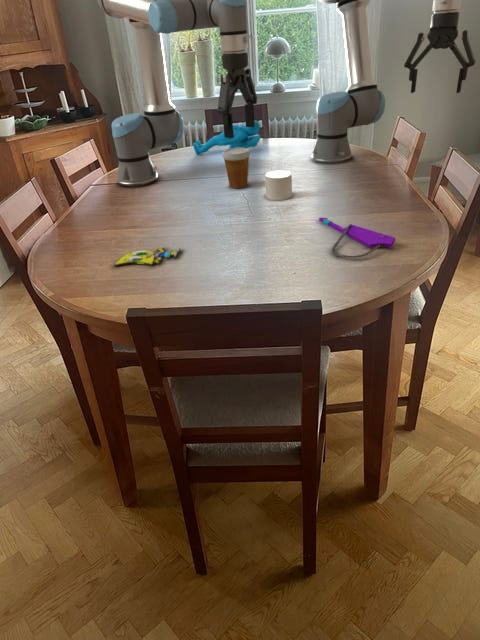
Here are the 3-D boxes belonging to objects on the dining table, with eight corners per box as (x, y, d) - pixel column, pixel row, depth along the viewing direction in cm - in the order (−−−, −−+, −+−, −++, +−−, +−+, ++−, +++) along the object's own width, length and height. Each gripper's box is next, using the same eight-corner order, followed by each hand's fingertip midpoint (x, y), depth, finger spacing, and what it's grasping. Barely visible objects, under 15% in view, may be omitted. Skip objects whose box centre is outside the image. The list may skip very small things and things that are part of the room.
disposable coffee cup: (220, 189, 168) (217, 154, 161) (231, 180, 175) (228, 146, 168) (246, 190, 164) (243, 154, 158) (255, 181, 171) (253, 147, 165)
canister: (286, 201, 153) (285, 178, 149) (262, 199, 156) (260, 177, 152) (295, 192, 159) (295, 171, 155) (272, 190, 162) (271, 169, 159)
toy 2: (171, 262, 119) (113, 263, 121) (171, 266, 119) (114, 266, 121) (180, 245, 127) (126, 246, 129) (180, 248, 128) (127, 249, 130)
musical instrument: (379, 268, 112) (405, 226, 124) (378, 260, 110) (405, 219, 123) (287, 256, 124) (320, 220, 137) (286, 249, 123) (319, 213, 135)
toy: (198, 134, 217) (260, 114, 207) (206, 157, 223) (267, 139, 212) (187, 143, 204) (253, 123, 194) (196, 168, 209) (261, 149, 199)
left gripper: (224, 57, 123) (230, 142, 135) (266, 47, 141) (268, 123, 153) (199, 58, 126) (208, 141, 138) (243, 47, 144) (248, 122, 156)
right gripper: (398, 15, 142) (391, 94, 153) (491, 9, 130) (476, 94, 142) (405, 14, 147) (398, 90, 159) (495, 7, 135) (480, 90, 147)
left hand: (240, 132), depth 145 cm, fingers open, 13 cm apart
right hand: (435, 92), depth 150 cm, fingers open, 13 cm apart
